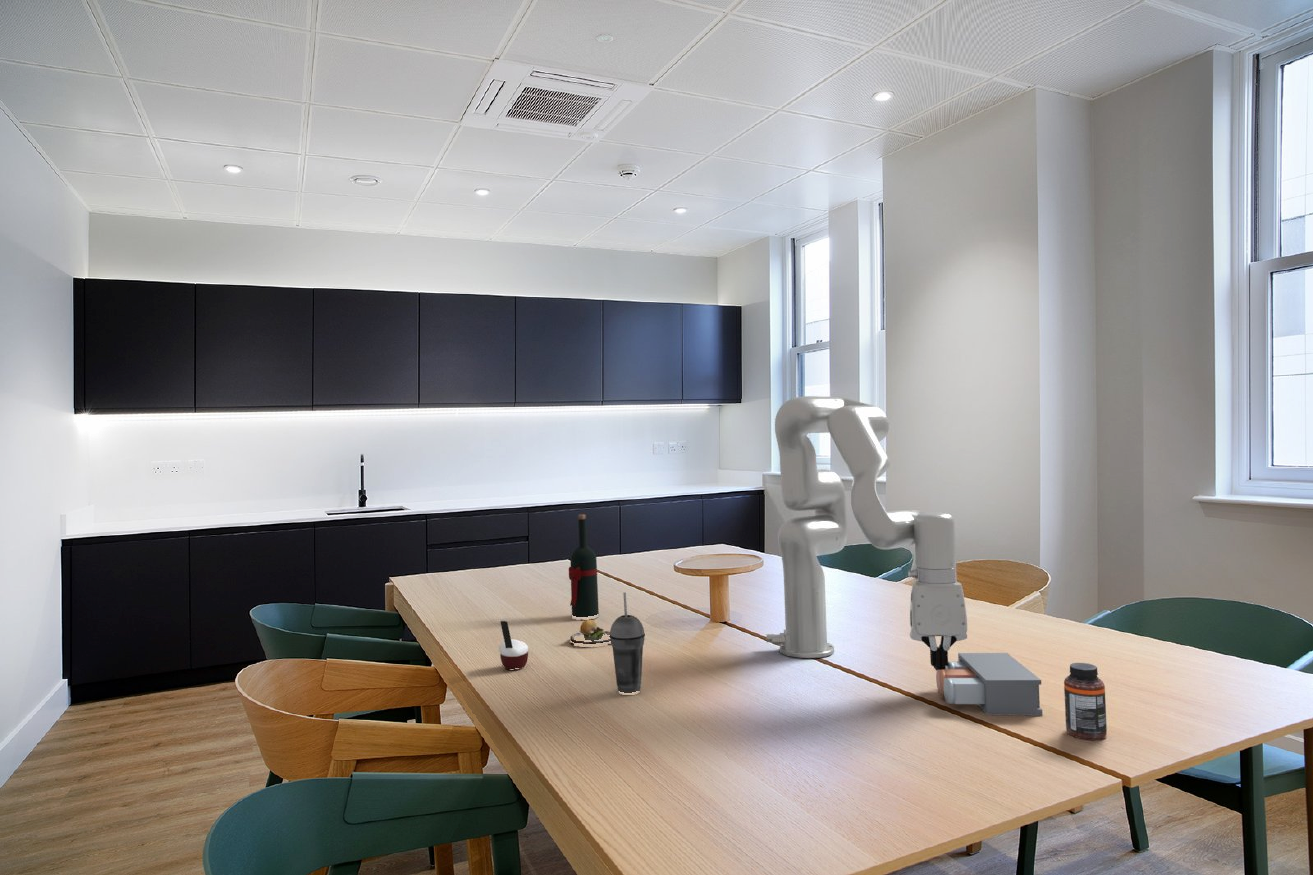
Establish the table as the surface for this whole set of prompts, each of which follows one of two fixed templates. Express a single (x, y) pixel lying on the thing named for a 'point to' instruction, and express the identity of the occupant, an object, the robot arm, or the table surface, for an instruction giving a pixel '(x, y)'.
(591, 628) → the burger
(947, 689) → the plug near
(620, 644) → the beverage cup
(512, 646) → the cocoa
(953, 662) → the plug far
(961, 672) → the plug terracotta
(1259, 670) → the table surface
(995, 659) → the socket block
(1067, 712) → the supplement bottle
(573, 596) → the wine bottle
